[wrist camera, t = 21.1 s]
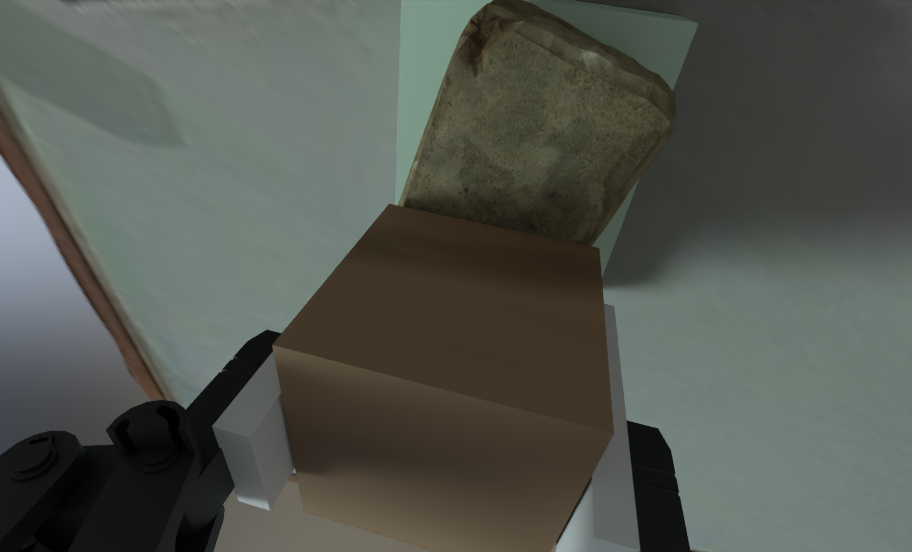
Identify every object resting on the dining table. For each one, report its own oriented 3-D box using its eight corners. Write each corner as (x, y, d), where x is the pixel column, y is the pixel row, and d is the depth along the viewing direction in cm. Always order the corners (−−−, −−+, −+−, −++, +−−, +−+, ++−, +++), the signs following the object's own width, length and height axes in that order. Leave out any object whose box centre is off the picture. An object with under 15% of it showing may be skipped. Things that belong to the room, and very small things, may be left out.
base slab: (428, -21, 16) (402, -20, 14) (679, 15, 15) (698, 23, 13) (411, 251, 23) (392, 283, 21) (582, 289, 22) (582, 328, 20)
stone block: (669, 63, 13) (707, 104, 9) (507, 313, 20) (489, 397, 16) (498, -22, 13) (462, -18, 9) (394, 260, 20) (347, 332, 16)
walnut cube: (389, 204, 13) (272, 344, 8) (599, 247, 12) (614, 433, 7) (385, 350, 16) (303, 511, 11) (547, 391, 15) (534, 582, 11)
